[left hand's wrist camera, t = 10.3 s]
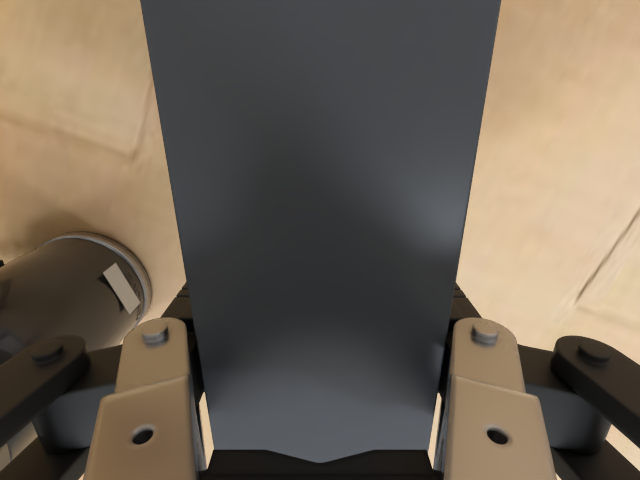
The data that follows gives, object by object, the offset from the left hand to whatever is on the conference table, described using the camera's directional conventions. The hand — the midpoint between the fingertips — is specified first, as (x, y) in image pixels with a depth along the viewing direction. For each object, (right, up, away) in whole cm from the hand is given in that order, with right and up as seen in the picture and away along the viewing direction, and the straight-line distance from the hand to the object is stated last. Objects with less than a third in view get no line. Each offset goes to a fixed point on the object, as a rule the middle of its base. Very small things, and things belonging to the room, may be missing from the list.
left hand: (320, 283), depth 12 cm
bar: (0, +10, 0) cm, 10 cm away
